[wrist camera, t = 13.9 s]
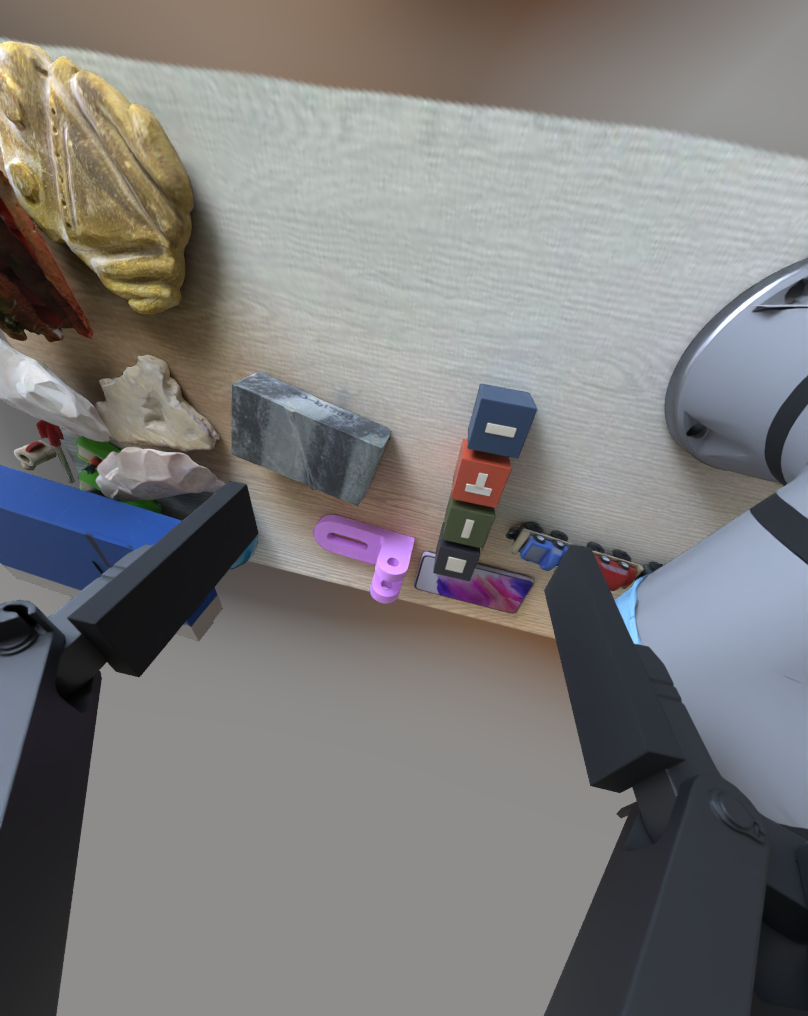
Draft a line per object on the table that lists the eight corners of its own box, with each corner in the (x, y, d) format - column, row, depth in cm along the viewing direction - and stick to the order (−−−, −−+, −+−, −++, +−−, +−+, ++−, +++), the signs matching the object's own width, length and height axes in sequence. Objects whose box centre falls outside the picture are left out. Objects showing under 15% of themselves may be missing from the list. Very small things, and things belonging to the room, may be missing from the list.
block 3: (529, 392, 29) (538, 409, 25) (513, 438, 31) (518, 459, 28) (480, 383, 29) (481, 398, 25) (467, 429, 32) (467, 449, 28)
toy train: (672, 591, 39) (696, 627, 35) (499, 535, 38) (502, 565, 34) (698, 571, 36) (726, 608, 32) (513, 511, 36) (518, 541, 32)
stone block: (367, 492, 38) (354, 519, 34) (254, 442, 37) (226, 463, 33) (393, 429, 33) (381, 451, 29) (262, 368, 32) (229, 382, 27)
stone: (207, 371, 31) (209, 464, 36) (226, 369, 35) (226, 455, 39) (67, 334, 30) (87, 435, 35) (100, 336, 33) (114, 428, 38)
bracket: (414, 537, 41) (405, 578, 35) (405, 566, 44) (395, 607, 39) (318, 509, 41) (294, 545, 36) (316, 539, 45) (294, 577, 39)
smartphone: (422, 553, 41) (536, 581, 41) (423, 548, 42) (535, 576, 41) (412, 589, 45) (515, 615, 45) (413, 584, 46) (514, 610, 45)
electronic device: (189, 523, 36) (-36, 453, 38) (151, 555, 32) (-97, 476, 34) (224, 612, 49) (53, 557, 51) (200, 643, 45) (16, 582, 47)
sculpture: (159, 333, 28) (-21, 212, 25) (189, 329, 30) (29, 219, 28) (180, 141, 20) (-74, -61, 18) (217, 159, 23) (2, -13, 20)
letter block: (507, 447, 32) (511, 469, 28) (494, 484, 35) (496, 509, 31) (463, 438, 32) (462, 459, 28) (453, 476, 35) (451, 499, 31)
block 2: (479, 529, 38) (480, 555, 35) (470, 555, 41) (469, 582, 37) (443, 521, 39) (440, 547, 35) (436, 548, 41) (432, 574, 38)
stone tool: (184, 429, 34) (67, 441, 36) (170, 467, 32) (46, 478, 34) (237, 473, 42) (138, 481, 44) (228, 505, 40) (125, 512, 42)
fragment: (-53, 316, 33) (-112, 341, 30) (-46, 246, 22) (-139, 276, 19) (95, 431, 43) (60, 456, 40) (153, 423, 32) (109, 458, 29)
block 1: (493, 492, 35) (495, 517, 31) (482, 523, 38) (482, 549, 34) (453, 484, 35) (451, 507, 32) (445, 515, 38) (442, 540, 34)
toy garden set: (152, 563, 55) (129, 583, 52) (36, 504, 51) (3, 521, 48) (168, 476, 42) (139, 495, 39) (14, 387, 38) (-35, 399, 35)
